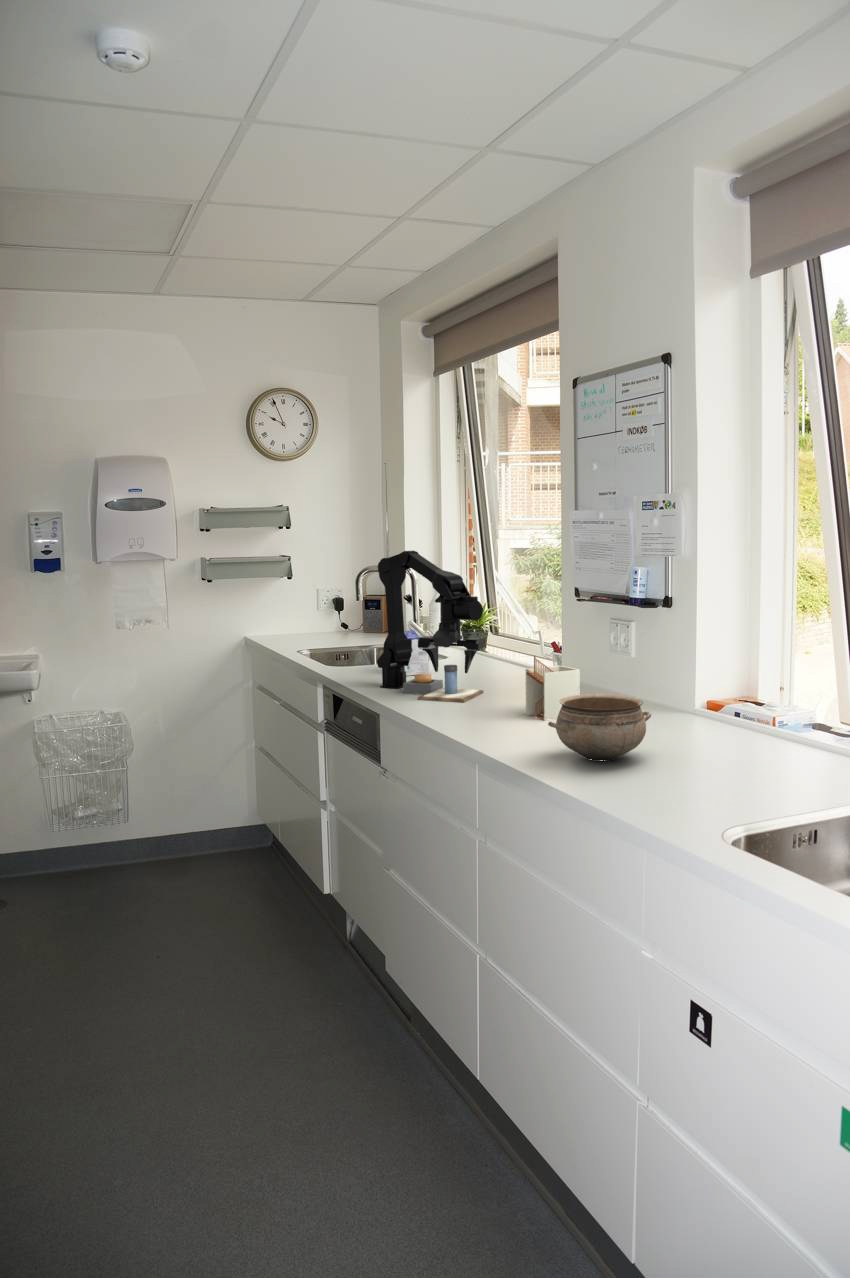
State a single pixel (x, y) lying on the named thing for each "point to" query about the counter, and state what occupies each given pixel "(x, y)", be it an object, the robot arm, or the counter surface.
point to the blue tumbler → (450, 679)
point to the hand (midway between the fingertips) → (451, 672)
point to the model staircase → (549, 689)
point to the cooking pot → (601, 725)
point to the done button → (422, 678)
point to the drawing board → (451, 695)
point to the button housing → (421, 686)
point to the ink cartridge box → (417, 657)
